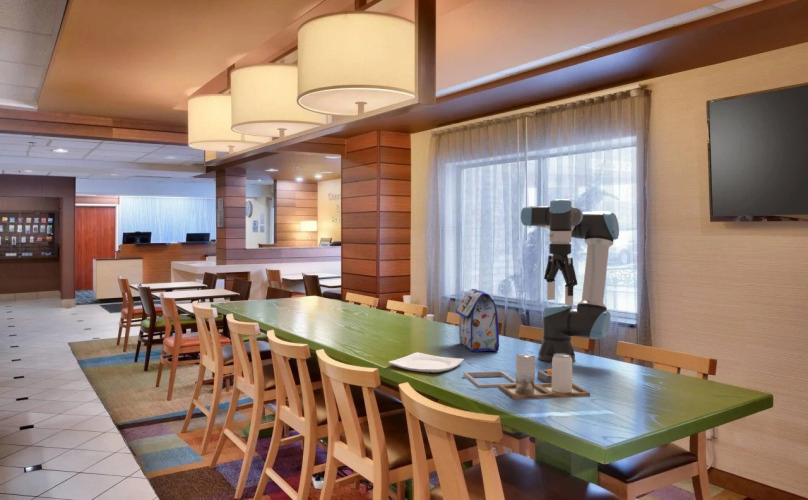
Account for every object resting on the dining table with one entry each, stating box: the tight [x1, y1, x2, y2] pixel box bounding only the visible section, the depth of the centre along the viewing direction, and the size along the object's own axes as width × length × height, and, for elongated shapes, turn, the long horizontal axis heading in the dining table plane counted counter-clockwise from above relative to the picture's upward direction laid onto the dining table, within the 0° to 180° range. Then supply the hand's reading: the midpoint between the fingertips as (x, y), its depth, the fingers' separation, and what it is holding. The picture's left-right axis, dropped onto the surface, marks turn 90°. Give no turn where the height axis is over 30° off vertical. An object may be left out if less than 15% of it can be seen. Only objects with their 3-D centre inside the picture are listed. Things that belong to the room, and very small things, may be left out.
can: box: [551, 353, 573, 393], centre depth 187 cm, size 6×6×12 cm
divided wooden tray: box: [498, 382, 591, 400], centre depth 185 cm, size 26×13×2 cm, turn 101°
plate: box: [388, 351, 465, 374], centre depth 224 cm, size 24×24×3 cm
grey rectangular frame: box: [462, 370, 516, 389], centre depth 200 cm, size 15×18×2 cm
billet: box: [515, 353, 536, 395], centre depth 184 cm, size 6×6×12 cm
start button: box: [546, 368, 552, 375], centre depth 201 cm, size 4×4×4 cm
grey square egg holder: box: [537, 369, 552, 383], centre depth 201 cm, size 8×8×4 cm
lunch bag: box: [455, 288, 500, 353], centre depth 262 cm, size 23×17×27 cm
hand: (559, 302), depth 202 cm, fingers open, 13 cm apart
